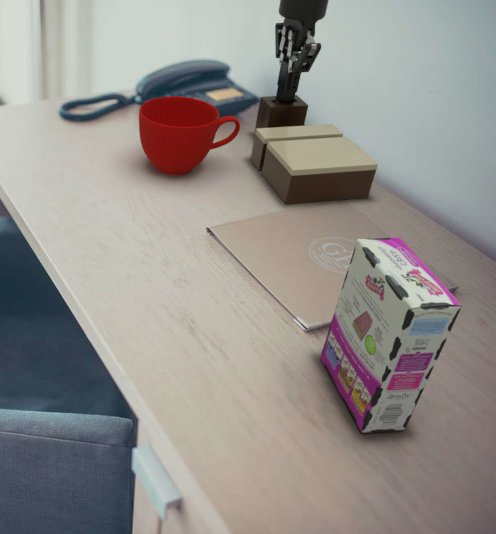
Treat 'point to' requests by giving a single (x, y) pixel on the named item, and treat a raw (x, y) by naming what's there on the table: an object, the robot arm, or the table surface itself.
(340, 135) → the cake slice
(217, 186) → the table surface
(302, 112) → the knife block
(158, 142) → the ceramic cup
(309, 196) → the cake
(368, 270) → the candy bar box
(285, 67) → the knife
